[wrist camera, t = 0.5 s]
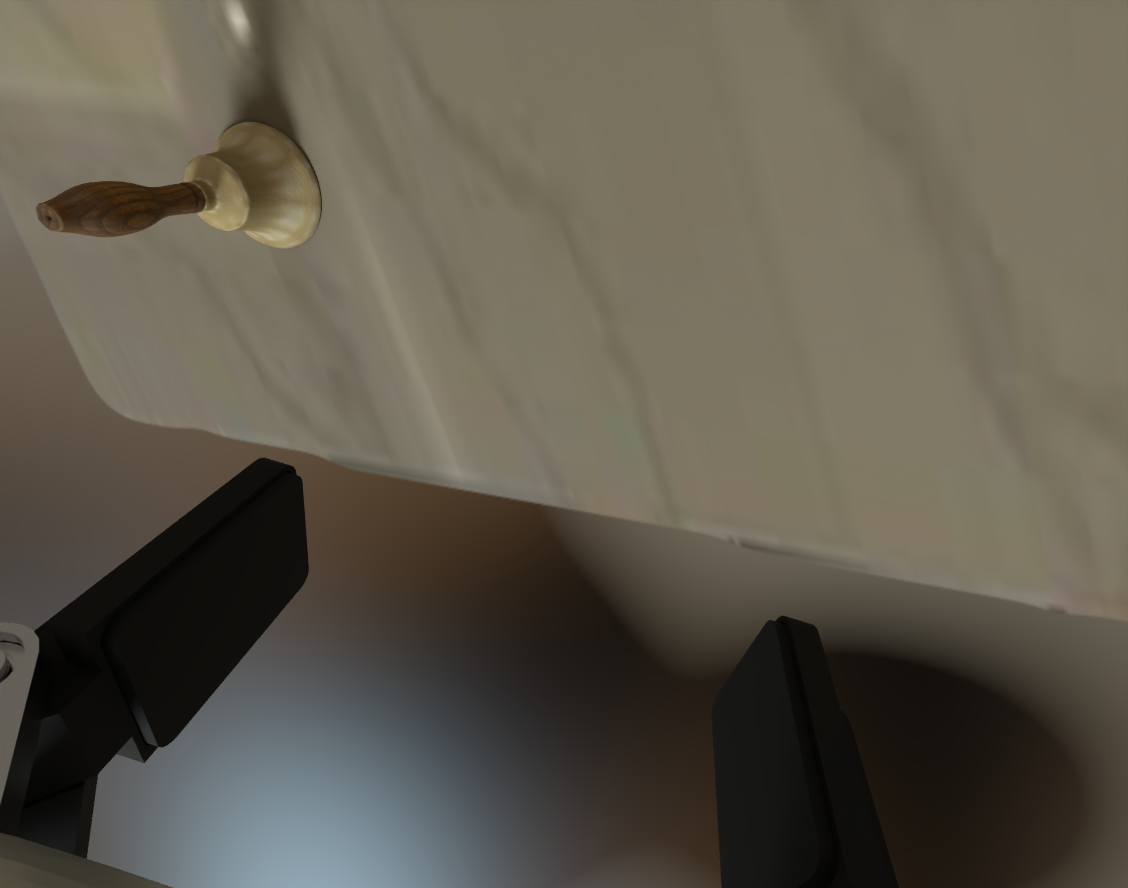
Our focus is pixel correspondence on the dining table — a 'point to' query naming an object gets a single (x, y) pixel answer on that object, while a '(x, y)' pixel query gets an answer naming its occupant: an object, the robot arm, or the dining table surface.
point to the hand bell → (207, 193)
